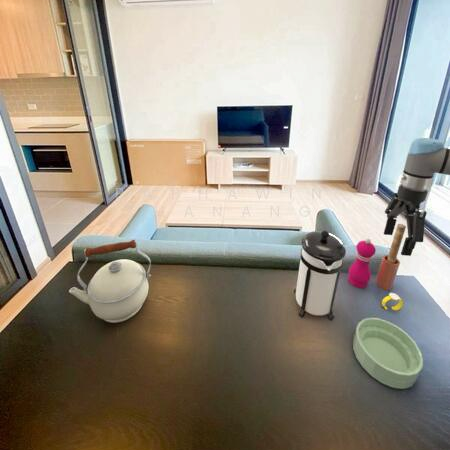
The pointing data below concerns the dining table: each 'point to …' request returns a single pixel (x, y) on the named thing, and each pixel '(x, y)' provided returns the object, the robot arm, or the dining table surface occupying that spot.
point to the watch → (395, 298)
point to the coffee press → (319, 273)
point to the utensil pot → (387, 273)
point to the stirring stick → (396, 243)
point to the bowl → (387, 353)
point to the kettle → (115, 285)
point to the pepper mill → (362, 264)
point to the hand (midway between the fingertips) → (396, 243)
